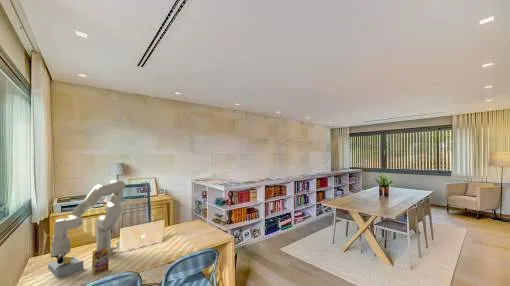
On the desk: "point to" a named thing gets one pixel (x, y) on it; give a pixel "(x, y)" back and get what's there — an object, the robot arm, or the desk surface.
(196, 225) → the desk surface
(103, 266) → the candy box
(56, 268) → the board
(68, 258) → the block
